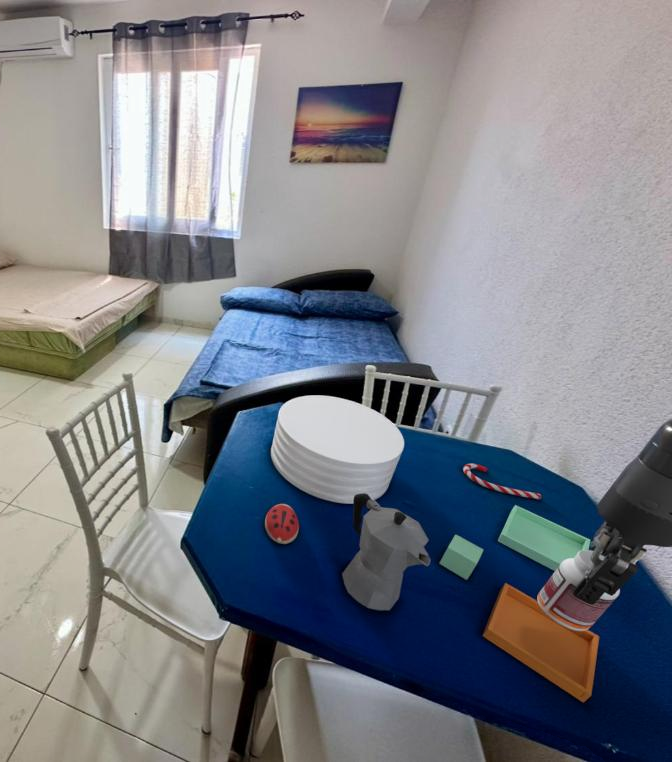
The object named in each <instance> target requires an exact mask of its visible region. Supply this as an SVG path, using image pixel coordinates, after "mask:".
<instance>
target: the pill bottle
mask: <svg viewBox="0 0 672 762" xmlns="http://www.w3.org/2000/svg"><path fill="white" fill-rule="evenodd" d="M593 552H594V551H591V550H590V549H589V550H581V551H579V552H578V553H577V555H576V556H575V557H574V558H569V559H566V560H564V561H563V562H562V563H561V564H560V565H559V567H558V568H557V569H556V571H554V572H553V573H552V575H551V576H550V578H548V580H547V581H546V583H545V584H544V586H543V587H542V588H541V589H540V591H539V592H538V594H537V599H536V601H538V604H539V606H540V607H541V609H542V610H543V611H544V612H545V613H546V614H547V615H548V616H549V617H550V618H552V619H553V620H554V621H556V622H557V623H559V624H561V625H562V626H564V627H567V628H569V629H572V630H576V631H585V630H589V629H590V628H591V627H593V626H594V624H595V623H596V622H597V621H598V620H599V619H600V618H601V616H603V614H604V613H605V612H606V610H607V609H608V608H609V607H610V606H611V605H612V604H613V603H614V601H615V600H616V599H617V598H618V597H619V596H620V593H621V588H620V589H619V590H618V591H617V592H616V594H614V595H613V596H611V595H609V594H607V593H604V594H603V595H602V596H601V597H600V598H599V600H598V601H597V602H596V603H595V604H594V605H591V604H588V603H586V602H584V601H582V600H580V599H579V598H577V597H575V596H574V595H573V590H574V589H575V587H576V586H577V585H578V584H579V583H580V581H581V580H582V579H583V578H584V577H585V573H586V572H588V570H589V568H590V567H591V565H592V564H593V563H592V561H591V560H590V556H591V555H592V553H593ZM604 558H605V557H604V556H602V555H600V559H601V560H604Z"/></svg>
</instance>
